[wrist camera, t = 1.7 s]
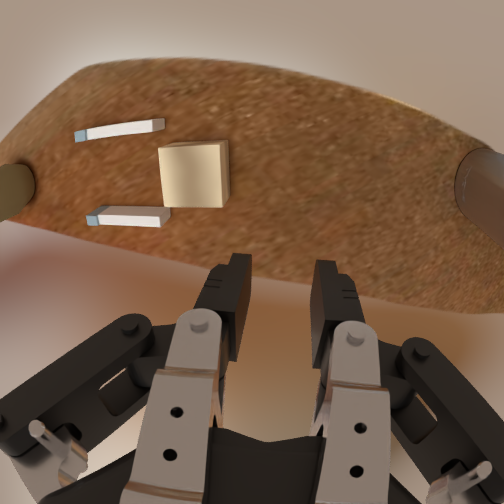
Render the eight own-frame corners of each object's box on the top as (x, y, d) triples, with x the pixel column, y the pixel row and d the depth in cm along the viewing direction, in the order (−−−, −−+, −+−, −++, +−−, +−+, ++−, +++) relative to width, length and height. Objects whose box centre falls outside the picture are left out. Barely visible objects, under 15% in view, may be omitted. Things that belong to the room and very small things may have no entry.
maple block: (228, 139, 27) (219, 144, 24) (230, 194, 30) (222, 207, 27) (173, 142, 28) (158, 148, 25) (178, 194, 31) (164, 207, 27)
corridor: (164, 118, 27) (150, 120, 24) (170, 216, 32) (158, 228, 29) (92, 127, 28) (74, 132, 25) (102, 214, 33) (88, 225, 30)
